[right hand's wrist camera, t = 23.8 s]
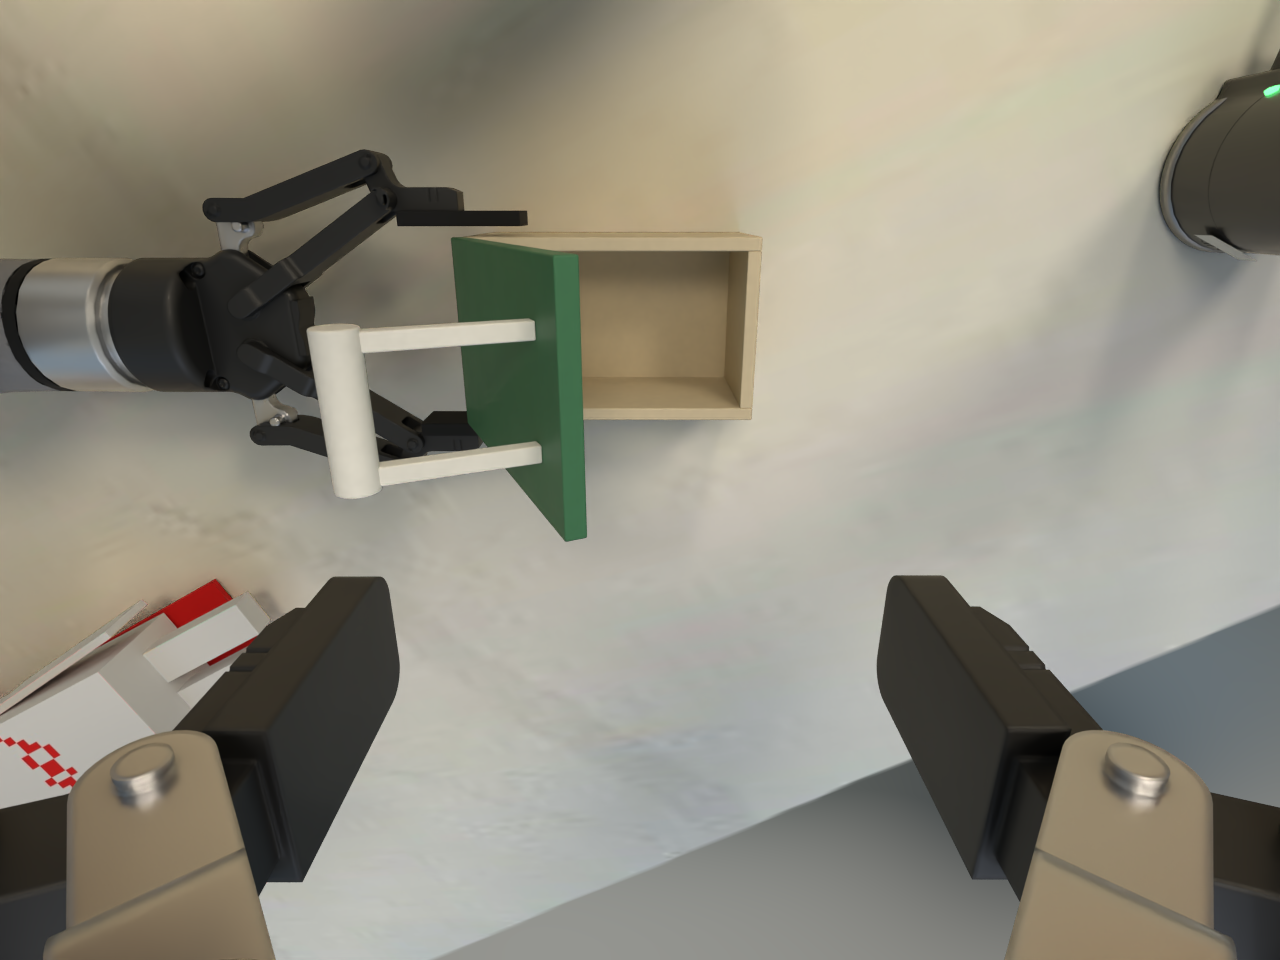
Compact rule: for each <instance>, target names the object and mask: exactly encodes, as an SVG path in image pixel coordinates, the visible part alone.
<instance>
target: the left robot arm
mask: <svg viewBox="0 0 1280 960" xmlns="http://www.w3.org/2000/svg"><path fill="white" fill-rule="evenodd" d="M366 184H367V186H368V188H369V190H370V192H371V193H370V194H368V195H367V196H366V197H364V198H363V199H362V200H361V201H359V202H358V203H357V204H355V205H354V206H353V207H352V208H350V209H349V210H348V211H346V212H345V213H344V214H343V215H341V216H340V217H339V218H338V219H336V220H335V221H334V222H332V223H331V224H330V225H329V226H327V227H326V228H325V229H323V230H322V231H321V232H320V233H318V234H317V235H316V236H314V237H313V238H312V239H311V240H309V241H308V242H307V243H306V244H304V245H303V246H302V247H300V248H299V249H298V250H297V251H295V252H294V253H293V254H291V255H290V256H289V257H287V258H285V259H283V260H281V261H279V262H278V263H276V264H275V265H274V266H273V265H271V264H270V263H268V262H267V261H265V260H264V259H262V258H261V257H259V256H258V255H256V254H255V253H253V252H251V251H249V250H248V242H249V241H250V240H251V239H252V238H254V237H258V236H259V235H261V233H262V231H263V228H264V225H263V223H262V222H267V221H274V220H279V219H282V218H285V217H287V216H290V215H292V214H295V213H297V212H300V211H302V210H304V209H307V208H309V207H312V206H314V205H317V204H319V203H322V202H324V201H327V200H329V199H332V198H334V197H337V196H339V195H341V194H344V193H346V192H349V191H351V190H354V189H356V188H359V187H361V186H364V185H366ZM203 212H204V215H205V216H206V217H207V218H208V219H209V220H211V221H213V222H216V225H217V230H218V235H219V240H220V245H221V250H222V251H220V252H218V253H217V254H215V255H214V256H212V257H209V258H140V259H136V260H132V259H129V258H53V259H38V260H28V259H0V393H8V392H30V391H110V392H147V391H152V390H157V391H163V392H235V393H238V394H241V395H243V396H245V397H247V398H250V399H252V402H253V407H254V412H255V416H256V421H257V426H255V427H253V428H252V429H251V431H250V437H251V440H252V441H253V442H254V443H256V444H258V445H291V446H294V447H297V448H300V449H304V450H307V451H310V452H313V453H316V454H319V455H323V456H326V457H328V455H327V449H326V443H325V437H324V431H323V425H322V420H321V419H320V418H316V417H312V416H306V415H297V413H298V412H297V410H296V409H295V408H293V407H290V406H287V405H283V404H281V403H280V402H279V401H278V400H277V398H276V394H277V393H278V392H280V391H281V390H282V389H283V388H284V387H286V386H287V387H289V388H290V389H292V390H294V391H296V392H297V393H299V394H301V395H303V396H307V397H313V398H315V399H317V400H318V396H317V390H316V384H315V378H314V372H313V366H312V361H311V355H310V349H309V343H308V337H307V329H308V328H310V327H313V326H315V325H314V316H315V306H314V300H313V297H309V295H308V293H307V292H306V290H305V289H304V288H305V287H307V286H308V285H309V284H311V283H312V282H313V281H315V280H316V279H317V278H319V277H320V276H321V275H322V273H323V272H324V271H325V270H326V269H328V268H329V267H330V266H332V265H333V264H334V263H335V262H337V261H338V260H339V259H341V258H342V257H343V256H345V255H346V254H347V253H349V252H350V251H351V250H352V249H354V248H355V247H356V246H358V245H359V244H360V243H362V242H363V241H364V240H366V239H367V238H368V237H369V236H371V235H372V234H373V233H375V232H376V231H377V230H379V229H380V228H381V227H383V226H384V225H385V224H386V223H388V222H389V221H390V220H392V219H393V218H394V217H397V225H398V226H524V225H528V220H527V211H464V200H463V192H461V191H459V190H456V189H454V188H447V187H404V186H403V185H401V184H400V183H399V182H398V180H397V178H396V176H395V174H394V172H393V170H392V162H391V160H390V158H389V157H388V156H387V155H385V154H383V153H379V152H374V151H370V150H365V149H364V150H359V151H357V152H354V153H352V154H349V155H347V156H345V157H342V158H340V159H337V160H335V161H332V162H330V163H328V164H325V165H323V166H320V167H318V168H316V169H313V170H311V171H308V172H306V173H303V174H301V175H299V176H296V177H294V178H291V179H289V180H286V181H284V182H282V183H279V184H277V185H274V186H272V187H269V188H267V189H265V190H262V191H260V192H257V193H255V194H253V195H250V196H248V197H245V198H209V199H207V200H205V201H204V203H203ZM369 393H370V400H371V407H372V414H373V421H374V428H375V433H376V434H378V435H380V436H381V437H383V438H385V439H386V440H385V439H382V438H379V437H376V442H377V449H378V456H379V462H384V461H391V460H399V459H406V458H414V457H421V456H427V452H429V451H466V450H474V449H477V448H479V447H480V445H481V444H482V443H483V441H482V439H481V438H480V437H479V436H478V435H477V433H476V432H475V431H474V430H473V428H472V427H471V426H470V425H469V424H468V419H467V411H433V412H432V413H431V414H430V415H429V416H428V417H427V418H426V419H425V420H424V421H422V420H420V419H419V418H417V417H415V416H414V415H412V414H410V413H409V412H407V411H405V410H403V409H402V408H400V407H398V406H397V405H395V404H393V403H392V402H390V401H388V400H386V399H385V398H383V397H381V396H380V395H378V394H376V393H375V392H373V391H371V390H369Z"/></svg>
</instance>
